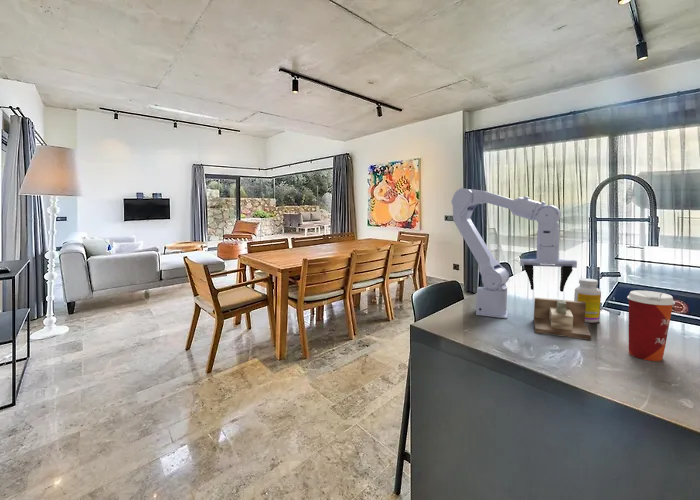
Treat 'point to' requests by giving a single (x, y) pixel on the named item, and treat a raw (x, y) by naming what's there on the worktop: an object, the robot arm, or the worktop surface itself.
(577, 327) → the cleat board
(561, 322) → the saddle block
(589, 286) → the supplement bottle
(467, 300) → the worktop surface
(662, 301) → the coffee cup
